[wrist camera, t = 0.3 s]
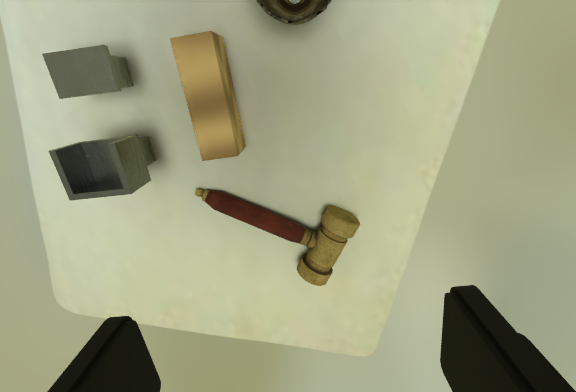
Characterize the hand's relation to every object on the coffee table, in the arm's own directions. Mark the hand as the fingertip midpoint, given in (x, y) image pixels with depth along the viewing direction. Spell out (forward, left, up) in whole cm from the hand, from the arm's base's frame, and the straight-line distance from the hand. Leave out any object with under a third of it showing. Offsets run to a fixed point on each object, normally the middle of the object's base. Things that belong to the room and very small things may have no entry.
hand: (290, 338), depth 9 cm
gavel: (+10, -4, -30) cm, 31 cm away
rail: (-6, -8, -29) cm, 31 cm away
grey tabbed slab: (-10, -19, -29) cm, 36 cm away
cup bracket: (-1, -19, -29) cm, 35 cm away
